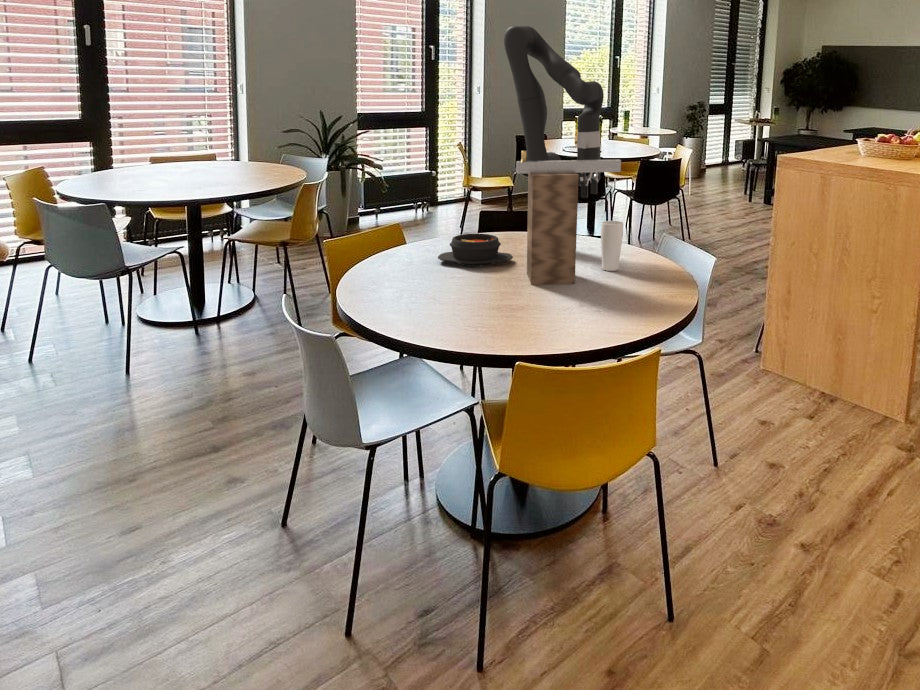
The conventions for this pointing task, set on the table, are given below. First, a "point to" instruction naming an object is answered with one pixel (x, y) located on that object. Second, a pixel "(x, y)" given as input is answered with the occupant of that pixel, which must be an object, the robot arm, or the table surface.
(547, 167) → the bar
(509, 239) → the table surface
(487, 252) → the casserole
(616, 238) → the white tapered cylinder
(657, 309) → the table surface
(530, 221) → the pedestal
